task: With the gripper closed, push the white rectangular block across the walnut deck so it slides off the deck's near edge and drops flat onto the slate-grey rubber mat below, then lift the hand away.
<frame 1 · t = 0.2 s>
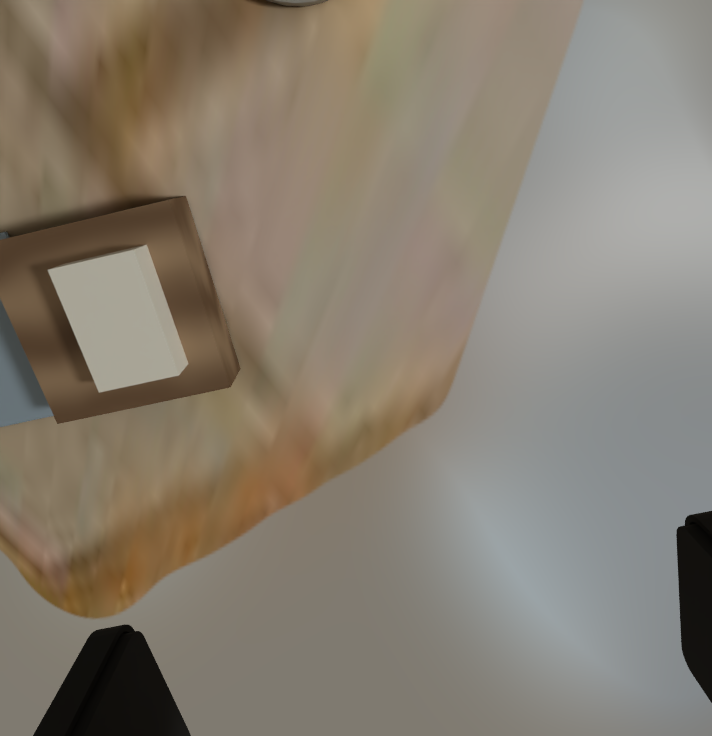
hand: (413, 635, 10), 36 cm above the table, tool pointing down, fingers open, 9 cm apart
deck: (130, 306, 44), on the table
white rectangular block: (128, 315, 40), point 4 cm above the table, touching deck
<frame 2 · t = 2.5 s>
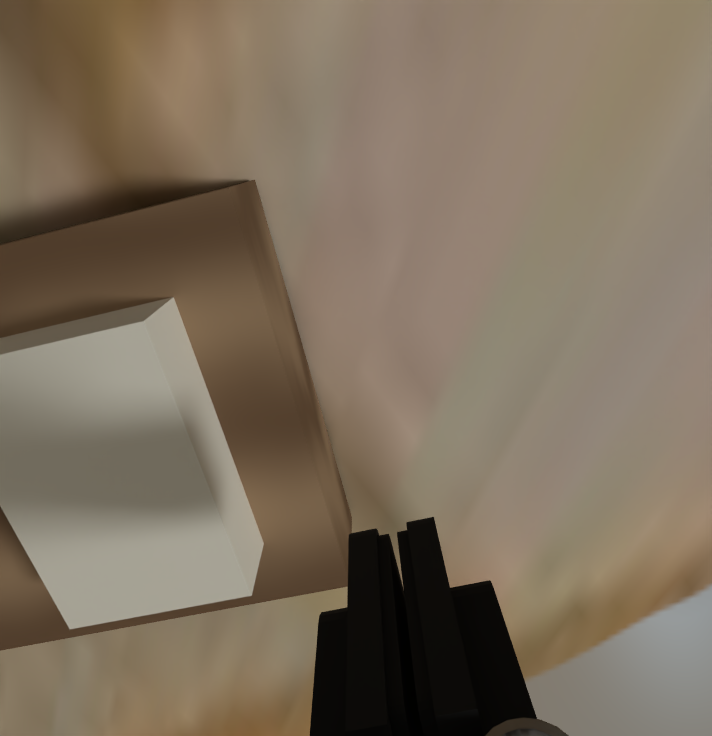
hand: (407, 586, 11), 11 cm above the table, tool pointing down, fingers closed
deck: (136, 406, 22), on the table
white rectangular block: (134, 450, 18), point 4 cm above the table, touching deck
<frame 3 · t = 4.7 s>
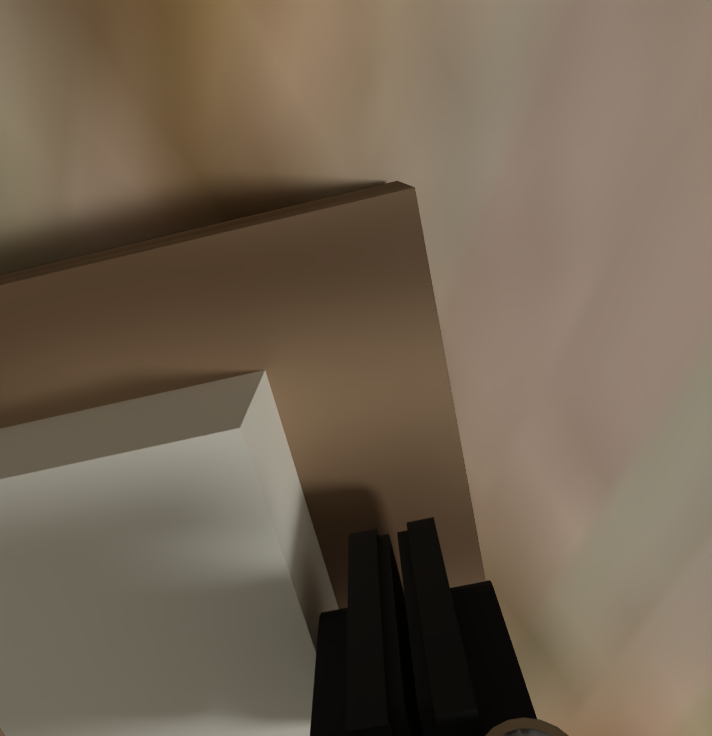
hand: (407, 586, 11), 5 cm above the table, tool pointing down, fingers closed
deck: (203, 491, 16), on the table
white rectangular block: (190, 589, 12), point 4 cm above the table, touching deck, gripper
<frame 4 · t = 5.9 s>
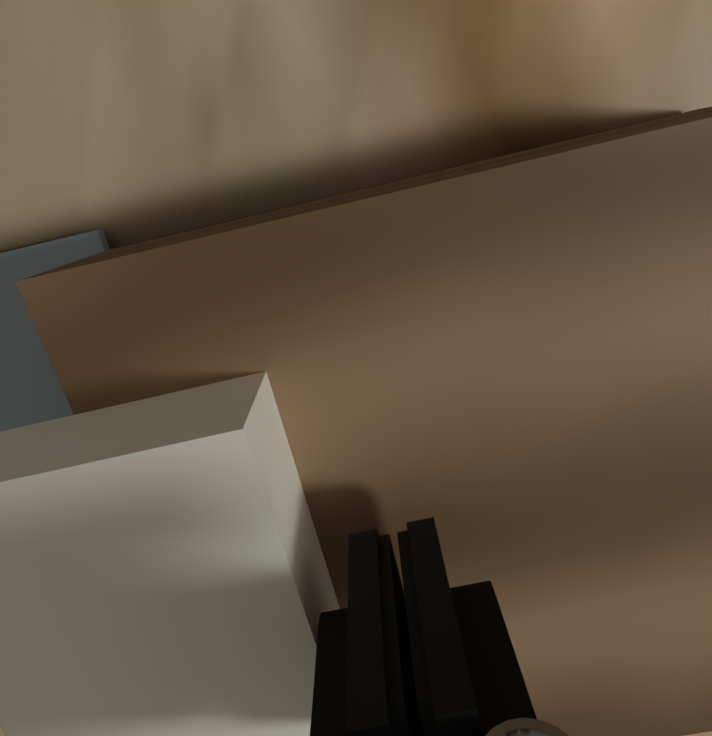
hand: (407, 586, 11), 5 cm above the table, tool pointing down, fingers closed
mat: (53, 521, 16), on the table
deck: (443, 443, 15), on the table
white rectangular block: (191, 591, 12), point 4 cm above the table, touching deck, gripper
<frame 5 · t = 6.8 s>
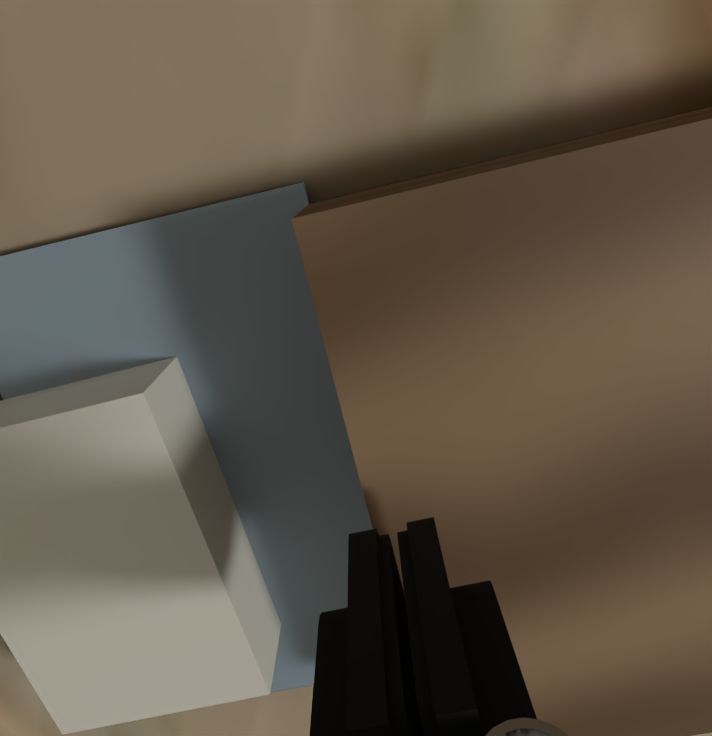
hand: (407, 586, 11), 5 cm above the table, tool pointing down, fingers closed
mat: (218, 490, 16), on the table
deck: (627, 406, 15), on the table
white rectangular block: (97, 585, 14), point 3 cm above the table, tilted 180°, touching mat
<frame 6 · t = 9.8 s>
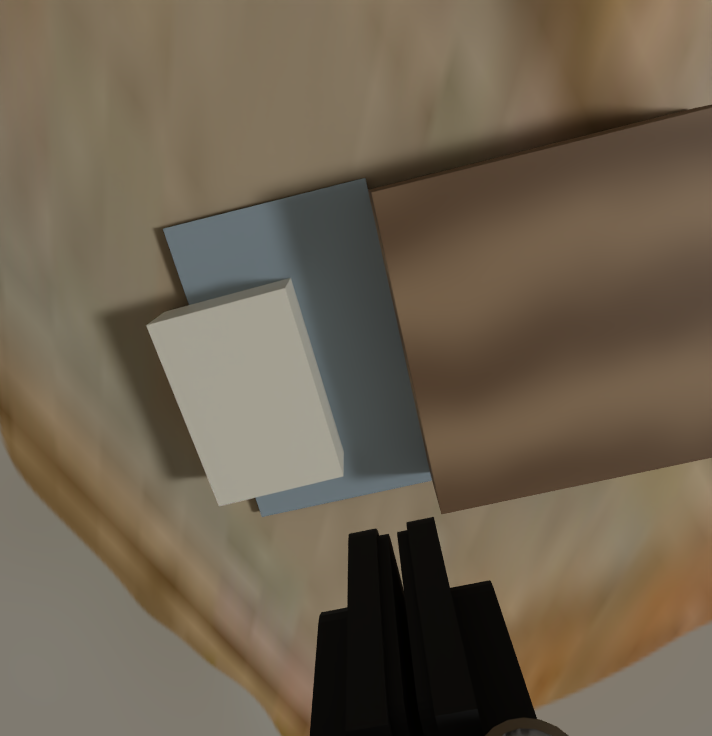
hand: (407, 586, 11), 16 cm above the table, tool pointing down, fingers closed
mat: (308, 362, 26), on the table
deck: (548, 307, 26), on the table
white rectangular block: (249, 404, 24), point 3 cm above the table, tilted 180°, touching mat
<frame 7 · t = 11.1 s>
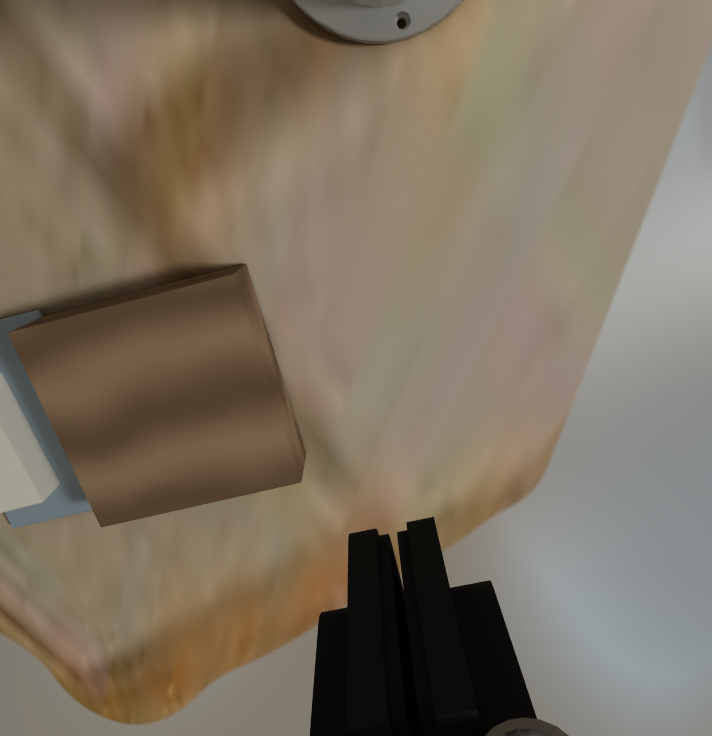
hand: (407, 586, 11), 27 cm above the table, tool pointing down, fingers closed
mat: (26, 425, 39), on the table
deck: (180, 387, 38), on the table
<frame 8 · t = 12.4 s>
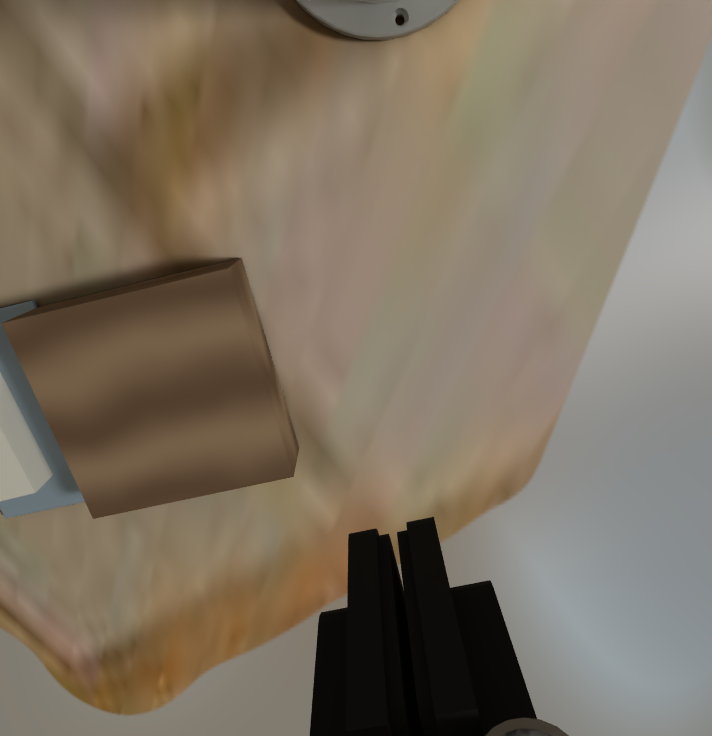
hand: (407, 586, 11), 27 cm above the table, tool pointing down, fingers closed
mat: (20, 415, 39), on the table
deck: (174, 380, 38), on the table
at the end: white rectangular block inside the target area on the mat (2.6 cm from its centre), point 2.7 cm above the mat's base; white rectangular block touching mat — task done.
